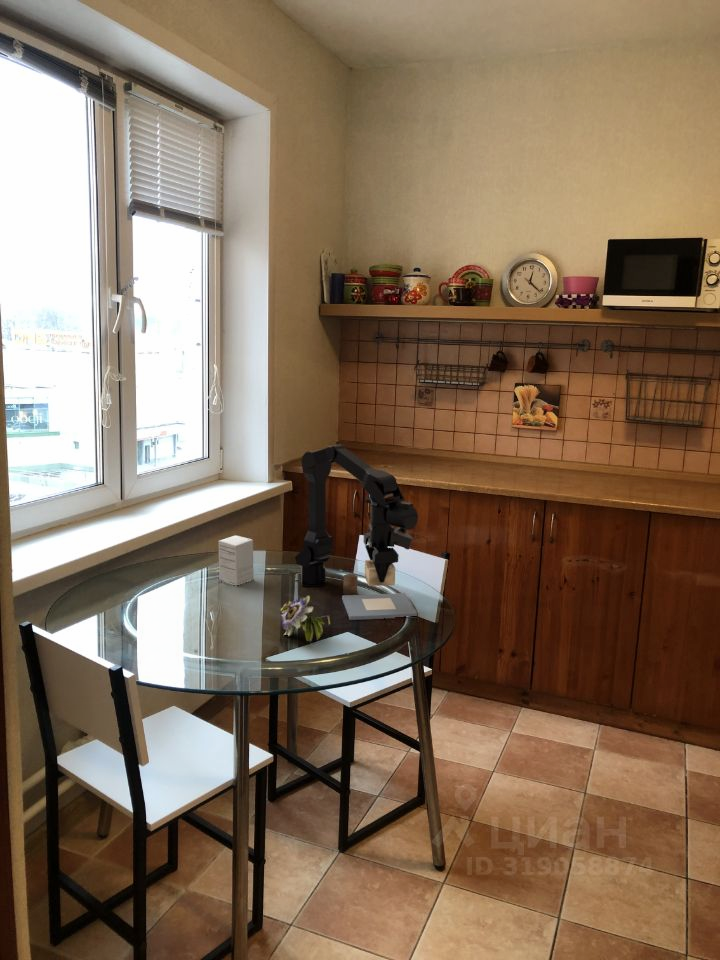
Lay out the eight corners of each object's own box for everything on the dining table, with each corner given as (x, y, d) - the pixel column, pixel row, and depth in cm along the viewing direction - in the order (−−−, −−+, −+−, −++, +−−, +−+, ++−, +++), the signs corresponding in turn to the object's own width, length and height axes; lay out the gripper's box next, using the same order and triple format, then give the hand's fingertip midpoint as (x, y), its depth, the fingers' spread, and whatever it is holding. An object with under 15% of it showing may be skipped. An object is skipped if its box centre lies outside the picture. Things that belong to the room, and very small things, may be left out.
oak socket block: (368, 586, 205) (369, 568, 204) (364, 576, 212) (365, 560, 211) (394, 585, 206) (395, 568, 205) (389, 576, 213) (390, 559, 212)
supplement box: (236, 574, 234) (235, 534, 231) (254, 580, 230) (254, 539, 227) (218, 581, 228) (217, 540, 225) (236, 587, 224) (236, 545, 221)
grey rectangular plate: (349, 619, 202) (350, 615, 202) (342, 598, 217) (342, 595, 216) (417, 617, 205) (417, 613, 205) (405, 596, 219) (405, 592, 219)
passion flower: (287, 656, 193) (269, 611, 195) (325, 640, 198) (307, 596, 200) (300, 647, 183) (280, 600, 186) (339, 631, 188) (320, 585, 191)
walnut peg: (344, 595, 219) (344, 578, 218) (342, 590, 223) (342, 574, 222) (358, 595, 220) (358, 578, 219) (356, 590, 224) (356, 573, 223)
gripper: (419, 531, 198) (416, 588, 201) (403, 512, 216) (401, 565, 219) (376, 532, 196) (374, 590, 199) (363, 512, 214) (362, 566, 217)
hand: (379, 577), depth 209 cm, fingers closed on oak socket block, 7 cm apart
